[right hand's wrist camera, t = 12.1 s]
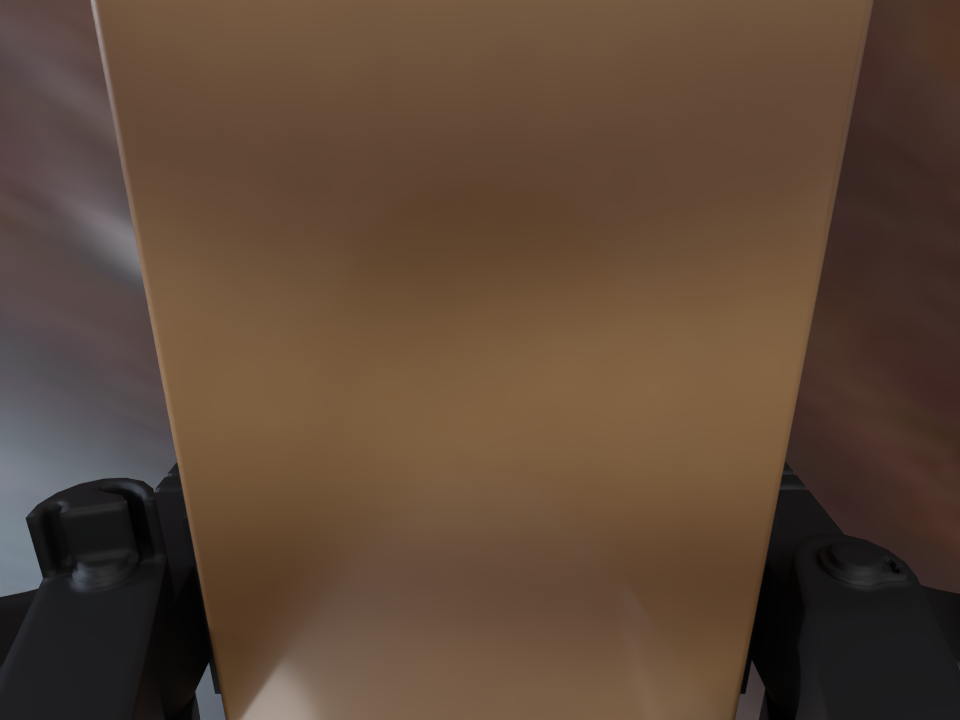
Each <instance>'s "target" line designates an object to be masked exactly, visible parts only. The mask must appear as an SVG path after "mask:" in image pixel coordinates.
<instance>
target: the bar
mask: <svg viewBox="0 0 960 720" xmlns="http://www.w3.org/2000/svg"><path fill="white" fill-rule="evenodd" d="M90 1H91V6H92V11H93V17H94V22H95V27H96V32H97V38H98V43H99V48H100V54H101V59H102V64H103V70H104V75H105V80H106V86H107V91H108V96H109V101H110V107H111V112H112V117H113V123H114V128H115V133H116V139H117V144H118V149H119V155H120V160H121V165H122V170H123V176H124V181H125V186H126V192H127V197H128V202H129V208H130V213H131V218H132V224H133V229H134V234H135V240H136V245H137V250H138V255H139V261H140V266H141V271H142V277H143V282H144V287H145V293H146V298H147V303H148V309H149V314H150V319H151V324H152V330H153V335H154V340H155V346H156V351H157V356H158V362H159V367H160V372H161V378H162V383H163V388H164V393H165V399H166V404H167V409H168V415H169V420H170V425H171V431H172V436H173V441H174V447H175V452H176V457H177V463H178V468H179V473H180V478H181V484H182V489H183V494H184V500H185V505H186V510H187V516H188V521H189V526H190V532H191V537H192V542H193V547H194V553H195V558H196V563H197V569H198V574H199V579H200V585H201V590H202V595H203V601H204V606H205V611H206V616H207V622H208V627H209V632H210V638H211V643H212V648H213V654H214V659H215V664H216V670H217V675H218V680H219V686H220V691H221V696H222V701H223V707H224V712H225V717H226V720H735V716H736V711H737V706H738V701H739V696H740V690H741V685H742V680H743V675H744V670H745V665H746V659H747V654H748V649H749V644H750V639H751V633H752V628H753V623H754V618H755V613H756V608H757V602H758V597H759V592H760V587H761V582H762V576H763V571H764V566H765V561H766V556H767V551H768V545H769V540H770V535H771V530H772V525H773V520H774V514H775V509H776V504H777V499H778V494H779V488H780V483H781V478H782V473H783V468H784V463H785V457H786V452H787V447H788V442H789V437H790V431H791V426H792V421H793V416H794V411H795V406H796V400H797V395H798V390H799V385H800V380H801V375H802V369H803V364H804V359H805V354H806V349H807V343H808V338H809V333H810V328H811V323H812V318H813V312H814V307H815V302H816V297H817V292H818V286H819V281H820V276H821V271H822V266H823V261H824V255H825V250H826V245H827V240H828V235H829V229H830V224H831V219H832V214H833V209H834V204H835V198H836V193H837V188H838V183H839V178H840V173H841V167H842V162H843V157H844V152H845V147H846V141H847V136H848V131H849V126H850V121H851V116H852V110H853V105H854V100H855V95H856V90H857V84H858V79H859V74H860V69H861V64H862V59H863V53H864V48H865V43H866V38H867V33H868V27H869V22H870V17H871V12H872V7H873V2H874V0H90Z"/></svg>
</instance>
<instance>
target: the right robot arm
mask: <svg viewBox="0 0 960 720" xmlns="http://www.w3.org/2000/svg"><path fill="white" fill-rule="evenodd" d="M26 521H27V525H28V528H29V531H30V535H31V538H32V542H33V545H34V548H35V552H36V555H37V559H38V562H39V566H40V569H41V572H42V576H43V580H42V582H41V584H40V586H39V588H38V589H35V590H32V591H28V592H23V593H19V594H14V595H9V596H4V597H0V720H200V715H199V708H198V703H197V698H196V693H195V691H196V688H197V686H198V684H199V682H200V680H201V678H202V676H203V674H204V671H205V669H206V667H207V665H208V663H209V664H210V669H211V674H212V680H213V685H214V690H215V694H221V691H220V686H219V680H218V675H217V670H216V664H215V659H214V654H213V648H212V643H211V638H210V632H209V627H208V622H207V616H206V611H205V606H204V601H203V595H202V590H201V585H200V579H199V574H198V569H197V563H196V558H195V553H194V547H193V542H192V537H191V532H190V526H189V521H188V516H187V510H186V505H185V500H184V494H183V489H182V484H181V478H180V473H179V468H178V463H176V464H175V465H174V467H173V468H172V469H171V470H170V472H169V473H168V477H165V478H164V479H163V480H162V482H161V483H160V484H159V485H158V487H157V488H156V492H155V493H154V490H153V488H151V487H150V486H149V485H147V484H146V483H145V482H143V481H139V480H134V479H130V478H109V479H100V480H96V481H91V482H87V483H82V484H79V485H76V486H73V487H71V488H68V489H66V490H63V491H60V492H58V493H56V494H54V495H53V496H51V497H49V498H48V499H46V500H44V501H43V502H41V503H40V504H38V505H37V506H36V507H35V508H34V509H33V510H32V511H31V512H30V514H29V515H28V516H27V517H26ZM751 661H753V663H754V665H755V667H756V669H757V671H758V673H759V675H760V677H761V680H762V682H763V684H764V686H765V693H764V698H763V703H762V707H761V712H760V717H759V720H960V594H957V593H952V592H947V591H942V590H937V589H933V588H929V587H925V586H922V585H920V583H919V581H918V579H917V577H916V576H915V574H914V573H913V572H912V570H911V569H910V568H909V566H908V565H907V564H906V563H905V562H904V561H902V560H901V559H900V558H898V557H897V556H895V555H894V554H893V553H891V552H890V551H888V550H887V549H884V548H882V547H880V546H878V545H875V544H873V543H871V542H869V541H866V540H863V539H859V538H855V537H851V536H847V535H844V533H843V532H842V531H841V530H840V529H839V527H838V526H837V525H836V524H835V522H834V521H833V520H832V519H831V517H830V516H829V515H828V514H827V513H826V511H825V510H824V509H823V508H822V506H821V505H820V504H819V503H818V501H817V500H816V499H815V498H814V496H813V495H812V494H811V493H810V492H809V490H805V485H804V484H803V483H802V482H801V480H800V479H799V478H798V477H797V476H796V475H793V471H792V469H791V468H790V467H789V466H788V464H787V463H786V462H785V463H784V468H783V473H782V478H781V483H780V488H779V494H778V499H777V504H776V509H775V514H774V520H773V525H772V530H771V535H770V540H769V545H768V551H767V556H766V561H765V566H764V571H763V576H762V582H761V587H760V592H759V597H758V602H757V608H756V613H755V618H754V623H753V628H752V633H751V639H750V644H749V649H748V654H747V659H746V665H745V670H744V675H743V680H742V685H741V690H740V694H745V692H746V687H747V682H748V677H749V672H750V666H751Z"/></svg>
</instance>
